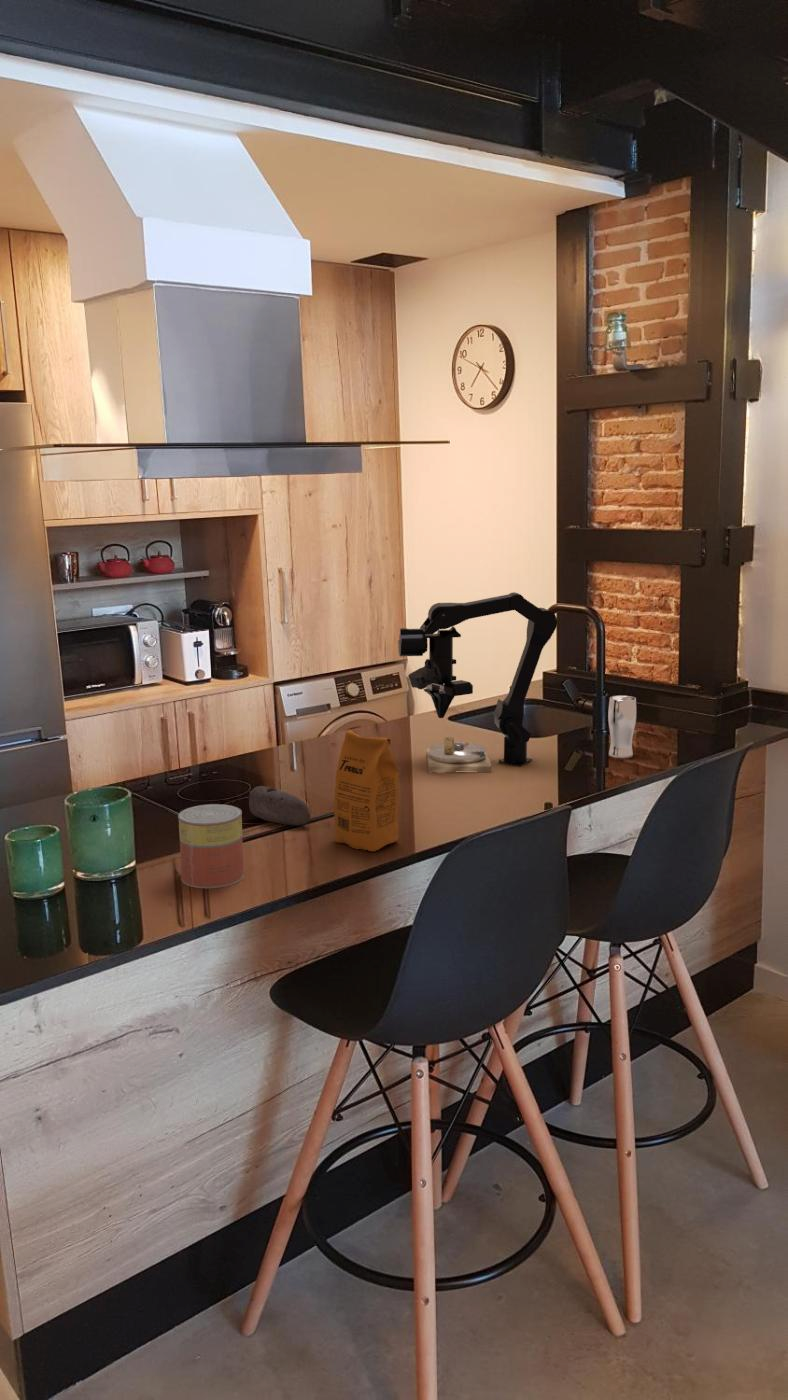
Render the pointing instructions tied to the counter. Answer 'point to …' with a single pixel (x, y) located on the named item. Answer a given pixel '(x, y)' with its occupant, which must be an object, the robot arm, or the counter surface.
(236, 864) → the canned food
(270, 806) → the perforated stone tool
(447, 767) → the base plate
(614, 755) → the beer glass
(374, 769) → the coffee package
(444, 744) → the handwheel
